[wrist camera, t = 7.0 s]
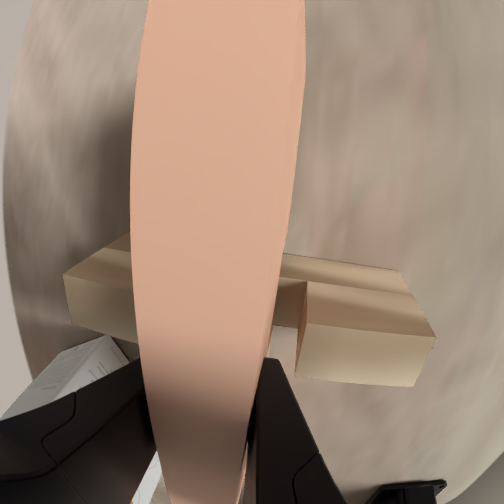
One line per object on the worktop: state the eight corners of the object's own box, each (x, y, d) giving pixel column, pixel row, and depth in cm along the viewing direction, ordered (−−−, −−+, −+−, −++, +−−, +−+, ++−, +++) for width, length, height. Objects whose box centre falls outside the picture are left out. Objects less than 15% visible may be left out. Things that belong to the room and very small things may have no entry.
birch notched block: (386, 311, 13) (412, 386, 9) (132, 270, 15) (71, 323, 10) (398, 270, 13) (436, 337, 8) (130, 231, 14) (62, 274, 9)
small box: (61, 348, 18) (-33, 449, 8) (110, 330, 16) (-4, 463, 7) (129, 430, 20) (69, 536, 10) (185, 425, 18) (127, 559, 9)
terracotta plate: (259, 410, 16) (228, 541, 8) (222, 403, 16) (179, 529, 9) (305, 74, 10) (302, -39, 3) (250, 69, 10) (156, -32, 3)
